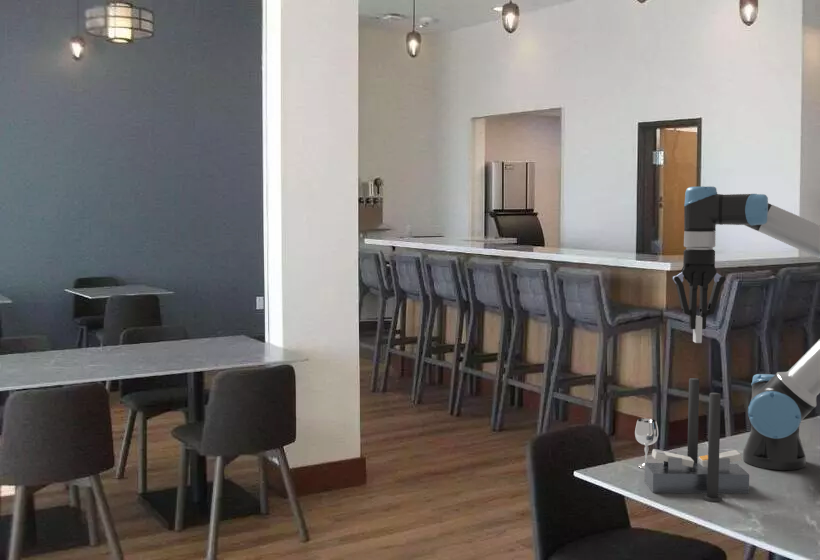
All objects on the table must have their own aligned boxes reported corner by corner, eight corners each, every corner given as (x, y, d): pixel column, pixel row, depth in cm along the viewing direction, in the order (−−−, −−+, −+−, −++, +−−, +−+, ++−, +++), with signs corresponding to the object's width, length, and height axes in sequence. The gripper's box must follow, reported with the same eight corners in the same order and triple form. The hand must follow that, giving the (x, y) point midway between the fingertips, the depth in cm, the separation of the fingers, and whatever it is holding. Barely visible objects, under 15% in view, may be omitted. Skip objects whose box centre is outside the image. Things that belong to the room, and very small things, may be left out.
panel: (736, 482, 219) (737, 450, 218) (748, 493, 210) (749, 461, 209) (644, 481, 220) (645, 449, 219) (652, 492, 211) (653, 460, 210)
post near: (718, 496, 208) (721, 392, 206) (724, 502, 204) (726, 395, 202) (701, 496, 208) (703, 391, 206) (706, 501, 204) (708, 395, 202)
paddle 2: (736, 455, 216) (735, 449, 216) (741, 460, 212) (740, 453, 212) (699, 462, 216) (697, 456, 216) (703, 467, 212) (702, 460, 212)
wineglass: (658, 470, 229) (659, 423, 228) (634, 469, 230) (635, 422, 229) (656, 464, 234) (657, 418, 233) (634, 462, 236) (634, 417, 235)
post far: (698, 474, 226) (700, 377, 224) (702, 478, 222) (704, 380, 220) (681, 473, 226) (683, 377, 224) (685, 478, 222) (688, 380, 220)
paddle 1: (688, 462, 216) (690, 456, 216) (692, 467, 213) (694, 460, 212) (651, 454, 217) (652, 448, 217) (655, 459, 213) (656, 452, 213)
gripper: (721, 247, 230) (719, 340, 232) (669, 247, 230) (667, 339, 232) (730, 249, 222) (728, 344, 224) (676, 249, 223) (674, 344, 225)
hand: (697, 342), depth 228 cm, fingers closed
